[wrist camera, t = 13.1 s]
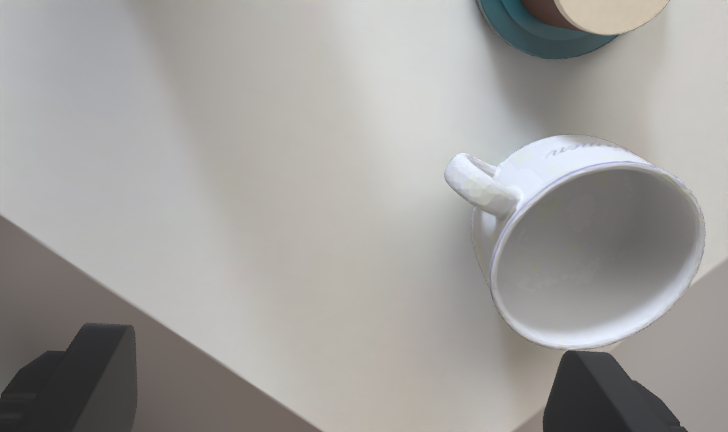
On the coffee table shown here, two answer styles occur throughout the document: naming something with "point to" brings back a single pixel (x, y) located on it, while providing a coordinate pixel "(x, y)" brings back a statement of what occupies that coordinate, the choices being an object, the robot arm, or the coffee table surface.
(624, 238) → the teacup
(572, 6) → the cake
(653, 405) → the robot arm
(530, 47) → the cake plate
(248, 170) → the coffee table surface
